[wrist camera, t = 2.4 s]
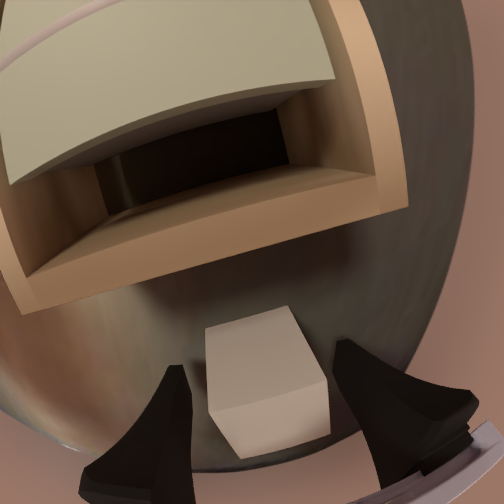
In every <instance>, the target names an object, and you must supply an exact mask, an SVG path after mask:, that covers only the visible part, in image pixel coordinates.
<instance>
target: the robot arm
mask: <svg viewBox="0 0 504 504" xmlns="http://www.w3.org/2000/svg"><path fill="white" fill-rule="evenodd" d="M332 372H333V374H334V377H335V380H336V382H337V385H338V387H339V389H340V391H341V393H342V394H343V396H344V398H345V400H346V402H347V403H348V405H349V407H350V408H351V410H352V412H353V414H354V415H355V417H356V419H357V421H358V423H359V425H360V427H361V429H362V431H363V434H364V436H365V439H366V441H367V444H368V447H369V450H370V452H371V455H372V458H373V461H374V465H375V468H376V471H377V475H378V479H379V483H380V487H381V490H380V491H378V492H375V493H373V494H371V495H368V496H366V497H363V498H361V499H358V500H356V501H353V502H350V503H348V504H385V503H387V502H389V501H391V500H392V501H391V502H389V503H387V504H448V503H450V502H451V501H452V500H454V499H455V498H456V497H458V496H459V495H460V494H462V493H463V492H464V491H466V490H467V489H468V488H469V487H470V486H472V485H473V484H474V483H475V482H476V481H478V480H479V479H480V478H481V477H482V476H483V475H484V474H485V473H486V472H488V471H489V470H490V469H491V468H492V467H493V466H494V465H495V464H496V463H497V462H498V461H499V460H500V459H501V458H502V457H503V456H504V438H503V437H502V435H501V434H500V433H499V432H498V431H497V430H496V428H495V427H494V426H493V425H492V423H491V422H490V421H489V420H486V421H485V422H484V423H483V424H481V425H480V426H479V427H478V428H476V429H475V430H474V431H473V432H472V433H471V434H470V433H469V432H468V430H469V429H470V427H469V425H468V424H467V422H468V421H469V419H470V418H471V417H472V415H473V414H474V413H475V411H476V409H477V408H478V405H479V400H478V399H477V398H476V397H475V395H474V394H473V393H472V392H471V391H470V390H464V389H456V388H455V389H454V388H449V387H444V386H440V385H436V384H432V383H429V382H426V381H423V380H420V379H417V378H415V377H412V376H410V375H408V374H405V373H403V372H401V371H399V370H397V369H395V368H394V367H392V366H390V365H388V364H386V363H385V362H383V361H381V360H380V359H378V358H377V357H375V356H374V355H372V354H370V353H369V352H367V351H366V350H365V349H363V348H362V347H360V346H359V345H357V344H356V343H354V342H353V341H351V340H350V339H345V340H341V341H337V345H336V351H335V358H334V364H333V370H332ZM192 416H193V409H192V393H191V390H190V387H189V384H188V381H187V378H186V374H185V371H184V368H183V365H170V366H169V367H168V368H167V370H166V372H165V375H164V377H163V379H162V381H161V383H160V384H159V386H158V388H157V390H156V392H155V393H154V395H153V397H152V399H151V400H150V402H149V404H148V405H147V407H146V408H145V410H144V411H143V413H142V414H141V416H140V417H139V418H138V420H137V421H136V422H135V423H134V425H133V426H132V427H131V428H130V430H129V431H128V432H127V433H126V434H125V435H124V436H123V437H122V438H121V439H120V440H119V441H118V442H117V443H116V444H115V445H114V446H113V447H112V448H111V449H109V450H108V451H107V452H106V453H105V454H104V455H102V456H101V457H100V458H98V459H97V460H95V461H94V462H93V463H91V464H90V465H88V466H87V467H85V468H84V470H83V473H82V476H81V481H80V486H79V492H78V494H79V495H80V496H81V498H83V499H84V500H85V501H87V502H88V503H90V504H196V501H195V494H194V487H193V478H192V468H191V434H192Z"/></svg>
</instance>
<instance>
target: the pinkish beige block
mask: <svg viewBox="0 0 504 504" xmlns="http://www.w3.org/2000/svg"><path fill="white" fill-rule="evenodd" d="M205 342H206V371H207V393H208V410H209V414H210V416H211V417H212V419H213V420H214V422H215V423H216V425H217V426H218V428H219V429H220V431H221V432H222V434H223V435H224V437H225V438H226V439H227V441H228V442H229V444H230V445H231V446H232V448H233V449H234V451H235V452H236V453H237V455H238V456H239V457H240V459H244V458H249V457H253V456H258V455H262V454H266V453H270V452H274V451H278V450H282V449H285V448H289V447H292V446H296V445H299V444H302V443H305V442H308V441H311V440H314V439H317V438H320V437H323V436H326V435H328V434H331V431H330V414H329V400H328V387H327V379H326V377H325V375H324V373H323V371H322V370H321V368H320V366H319V364H318V362H317V360H316V358H315V356H314V354H313V352H312V351H311V349H310V347H309V345H308V343H307V341H306V339H305V337H304V335H303V334H302V332H301V330H300V328H299V326H298V324H297V322H296V320H295V318H294V317H293V315H292V313H291V311H290V309H289V307H288V305H287V306H283V307H280V308H277V309H274V310H270V311H267V312H263V313H260V314H257V315H253V316H250V317H246V318H243V319H239V320H235V321H232V322H228V323H224V324H220V325H217V326H213V327H209V328H205Z"/></svg>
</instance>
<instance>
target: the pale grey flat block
mask: <svg viewBox="0 0 504 504" xmlns="http://www.w3.org/2000/svg"><path fill="white" fill-rule="evenodd" d="M333 80H335V75H334V72H333V68H332V65H331V62H330V58H329V55H328V52H327V49H326V46H325V43H324V40H323V37H322V34H321V31H320V29H319V26H318V23H317V20H316V18H315V15H314V13H313V10H312V8H311V5H310V3H309V0H6V2H5V6H4V12H3V17H2V23H1V30H0V134H1V141H2V148H3V154H4V160H5V165H6V170H7V175H8V179H9V183H10V185H12V184H16V183H20V182H24V181H28V180H31V179H32V178H34V177H36V176H37V175H39V174H41V173H47V172H52V171H58V170H65V169H72V168H79V167H86V166H91V165H93V164H96V163H98V162H100V161H103V160H105V159H107V158H110V157H112V156H115V155H117V154H120V153H122V152H125V151H127V150H130V149H133V148H135V147H138V146H141V145H143V144H146V143H149V142H152V141H155V140H158V139H161V138H164V137H167V136H170V135H173V134H177V133H180V132H183V131H186V130H190V129H193V128H197V127H201V126H204V125H208V124H212V123H216V122H220V121H224V120H228V119H232V118H237V117H241V116H246V115H251V114H256V113H261V112H266V111H271V110H273V109H274V108H276V107H277V106H278V105H280V104H281V103H283V102H284V101H286V100H287V99H289V98H290V97H292V96H293V95H295V94H296V93H298V92H299V91H301V90H302V89H310V88H320V87H322V86H323V85H325V84H327V83H329V82H331V81H333Z"/></svg>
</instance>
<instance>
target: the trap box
mask: <svg viewBox="0 0 504 504" xmlns="http://www.w3.org/2000/svg"><path fill="white" fill-rule="evenodd" d="M5 2H6V0H0V30H1V23H2V17H3V12H4V6H5ZM309 3H310V5H311V8H312V10H313V13H314V15H315V18H316V20H317V23H318V26H319V29H320V31H321V34H322V37H323V40H324V43H325V46H326V49H327V52H328V55H329V58H330V62H331V65H332V68H333V72H334V75H335V80H333V81H331V82H329V83H327V84H325V85H323V86H322V87H320V88H310V89H302V90H301V91H299V92H298V93H296V94H295V95H293V96H292V97H290V98H289V99H287V100H286V101H284V102H283V103H281V104H280V105H278V106H277V107H276V110H277V114H278V118H279V122H280V126H281V130H282V134H283V138H284V143H285V147H286V151H287V156H288V160H289V164H285V165H281V166H276V167H272V168H268V169H263V170H259V171H255V172H251V173H247V174H243V175H239V176H235V177H231V178H228V179H224V180H220V181H217V182H213V183H209V184H206V185H202V186H199V187H196V188H192V189H189V190H185V191H182V192H179V193H176V194H173V195H169V196H166V197H163V198H160V199H157V200H154V201H151V202H148V203H145V204H142V205H139V206H136V207H133V208H130V209H128V210H125V211H122V212H119V213H117V214H114V215H111V216H109V215H108V212H107V209H106V206H105V203H104V199H103V196H102V193H101V190H100V186H99V183H98V179H97V176H96V172H95V169H94V165H91V166H86V167H79V168H72V169H65V170H58V171H52V172H47V173H41V174H39V175H37V176H36V177H34V178H32V179H31V180H28V181H24V182H20V183H16V184H12V185H10V183H9V179H8V175H7V170H6V165H5V160H4V154H3V148H2V141H1V134H0V270H1V273H2V275H3V277H4V280H5V282H6V284H7V286H8V288H9V290H10V293H11V295H12V297H13V299H14V301H15V303H16V305H17V307H18V308H19V310H20V312H21V314H22V315H26V314H29V313H33V312H36V311H39V310H43V309H46V308H50V307H53V306H57V305H60V304H64V303H67V302H71V301H74V300H78V299H81V298H85V297H88V296H92V295H95V294H99V293H102V292H106V291H109V290H113V289H117V288H120V287H124V286H127V285H131V284H134V283H138V282H141V281H145V280H148V279H152V278H155V277H159V276H162V275H166V274H169V273H173V272H176V271H180V270H183V269H187V268H190V267H194V266H198V265H201V264H205V263H208V262H212V261H215V260H219V259H222V258H226V257H229V256H233V255H236V254H240V253H244V252H247V251H251V250H254V249H258V248H261V247H265V246H268V245H272V244H276V243H279V242H283V241H286V240H290V239H293V238H297V237H300V236H304V235H308V234H311V233H315V232H318V231H322V230H325V229H329V228H333V227H336V226H340V225H343V224H347V223H350V222H354V221H358V220H361V219H365V218H368V217H372V216H375V215H379V214H383V213H386V212H390V211H393V210H397V209H400V208H404V207H408V195H407V183H406V174H405V166H404V158H403V151H402V145H401V139H400V133H399V127H398V122H397V117H396V112H395V108H394V103H393V99H392V95H391V91H390V87H389V83H388V80H387V76H386V72H385V69H384V66H383V62H382V59H381V56H380V53H379V50H378V47H377V44H376V41H375V38H374V36H373V33H372V30H371V27H370V25H369V22H368V20H367V17H366V15H365V13H364V10H363V8H362V6H361V3H360V1H359V0H309Z"/></svg>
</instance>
